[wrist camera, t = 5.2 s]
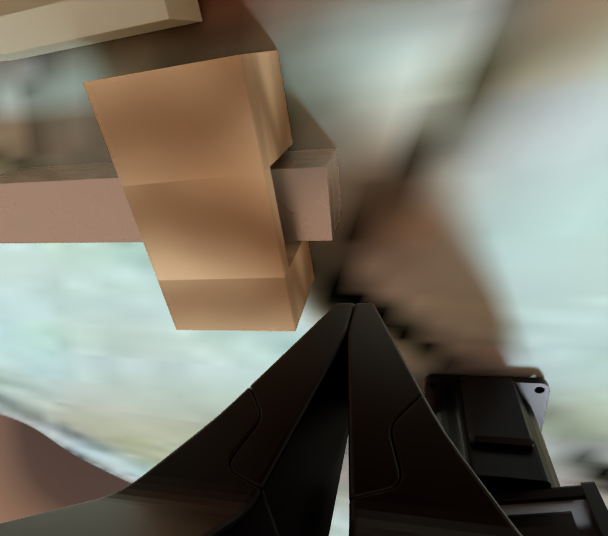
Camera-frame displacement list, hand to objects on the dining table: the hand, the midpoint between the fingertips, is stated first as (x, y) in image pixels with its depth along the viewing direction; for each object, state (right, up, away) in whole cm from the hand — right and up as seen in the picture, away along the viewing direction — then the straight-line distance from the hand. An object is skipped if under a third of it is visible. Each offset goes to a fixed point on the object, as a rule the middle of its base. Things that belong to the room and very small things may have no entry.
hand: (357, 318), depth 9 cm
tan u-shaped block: (-4, +5, +10) cm, 13 cm away
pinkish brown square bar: (-8, +5, +12) cm, 15 cm away
